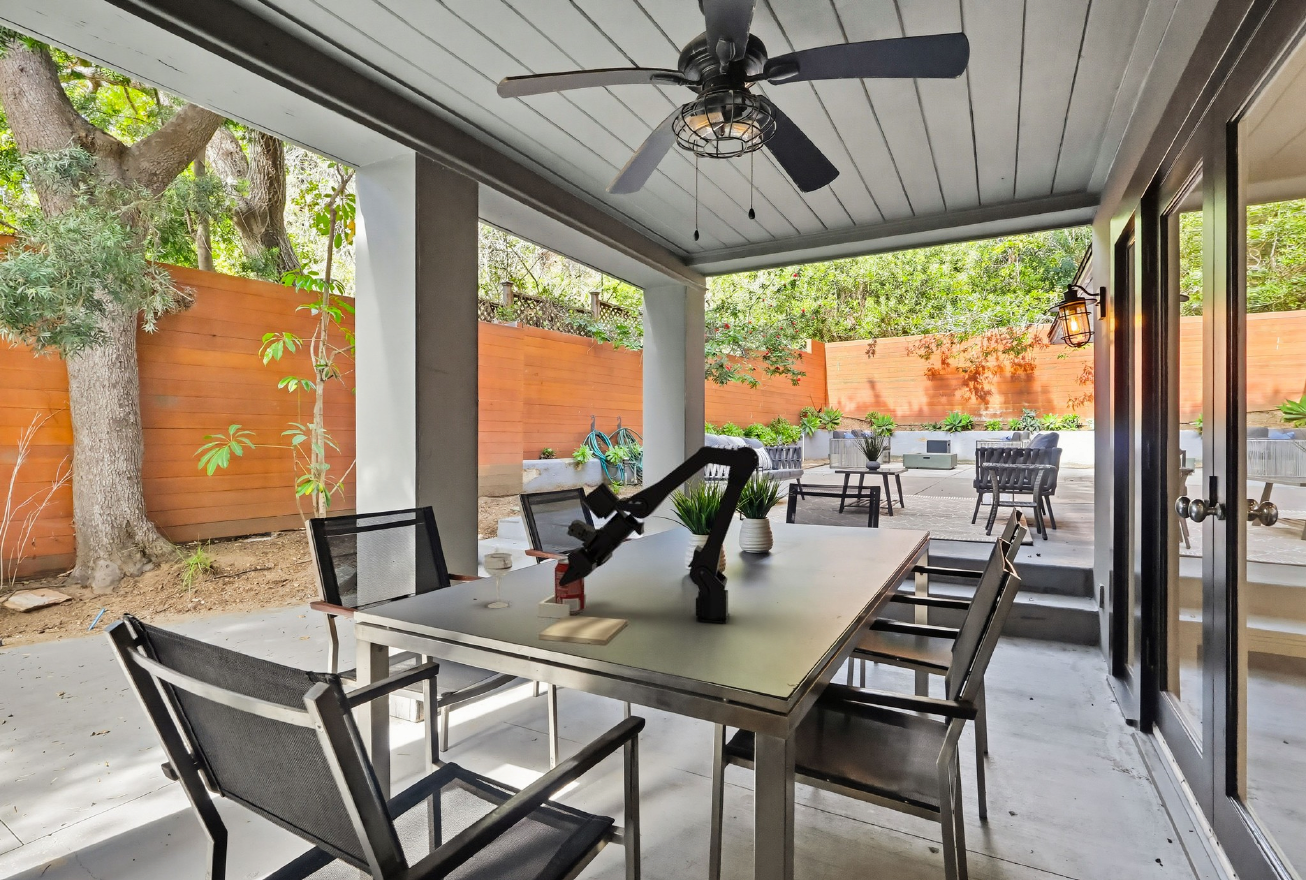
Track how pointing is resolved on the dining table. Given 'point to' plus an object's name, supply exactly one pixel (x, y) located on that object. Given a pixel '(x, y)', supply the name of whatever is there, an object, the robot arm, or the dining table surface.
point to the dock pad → (584, 630)
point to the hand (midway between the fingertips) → (566, 580)
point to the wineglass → (497, 571)
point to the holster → (554, 608)
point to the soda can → (568, 589)
